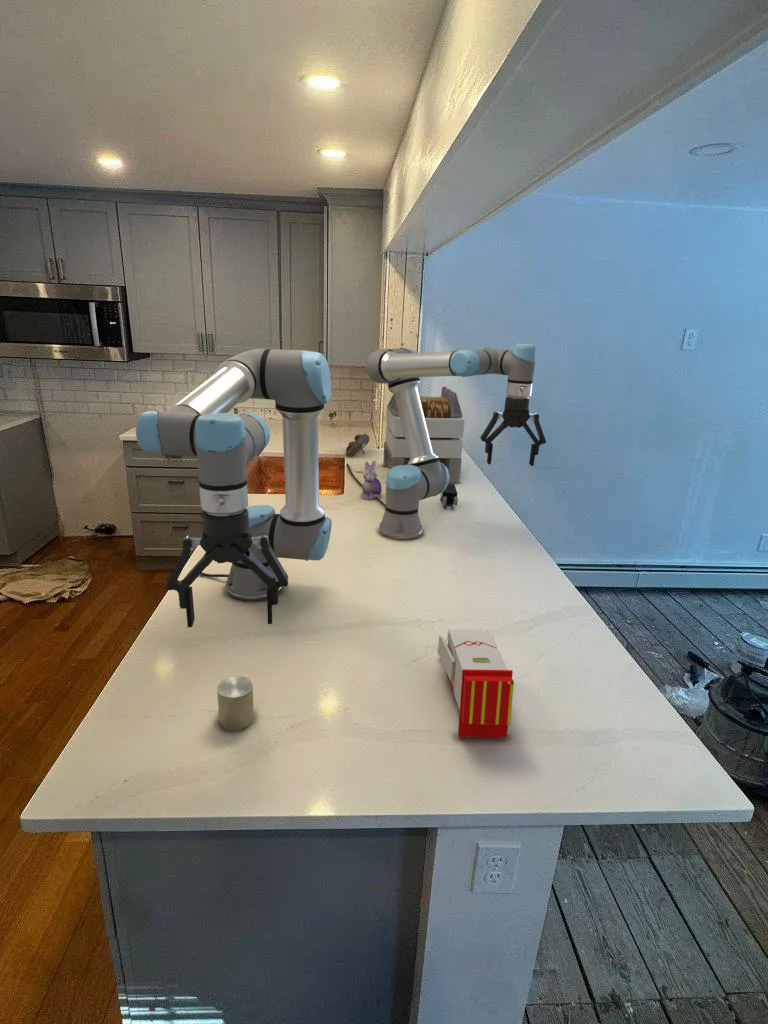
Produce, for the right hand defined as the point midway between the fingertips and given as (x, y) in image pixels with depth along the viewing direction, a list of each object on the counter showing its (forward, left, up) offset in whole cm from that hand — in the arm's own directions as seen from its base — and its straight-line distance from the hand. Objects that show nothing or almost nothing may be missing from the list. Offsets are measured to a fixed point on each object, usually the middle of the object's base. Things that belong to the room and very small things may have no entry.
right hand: (510, 464), depth 180 cm
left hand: (+22, -107, -8) cm, 110 cm away
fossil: (-130, +41, -30) cm, 139 cm away
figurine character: (-42, +19, -30) cm, 55 cm away
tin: (+22, -107, -30) cm, 114 cm away
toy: (+44, -66, -30) cm, 84 cm away
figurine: (-68, 0, -30) cm, 74 cm away
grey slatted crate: (-83, +42, -30) cm, 97 cm away
